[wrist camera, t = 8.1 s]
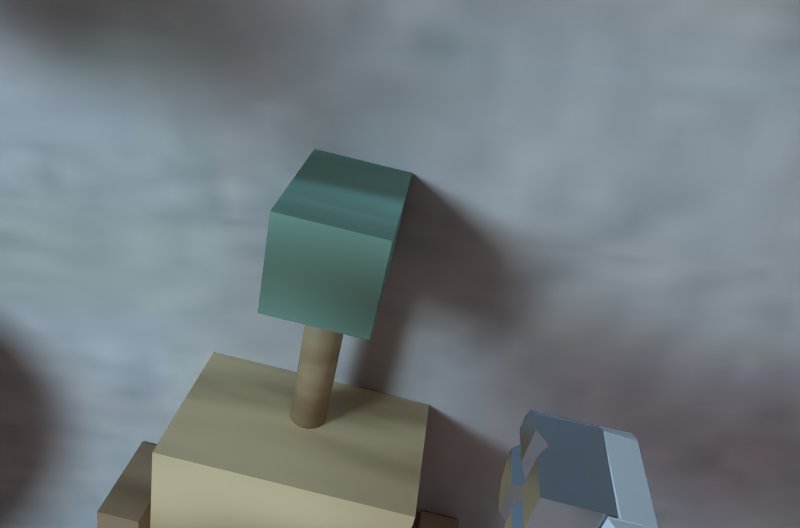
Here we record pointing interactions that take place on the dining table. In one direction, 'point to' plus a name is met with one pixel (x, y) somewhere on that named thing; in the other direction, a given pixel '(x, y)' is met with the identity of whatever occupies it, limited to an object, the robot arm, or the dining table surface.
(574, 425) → the robot arm
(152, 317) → the dining table surface
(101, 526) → the tan piece
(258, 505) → the oak block with dowel handle
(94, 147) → the dining table surface
